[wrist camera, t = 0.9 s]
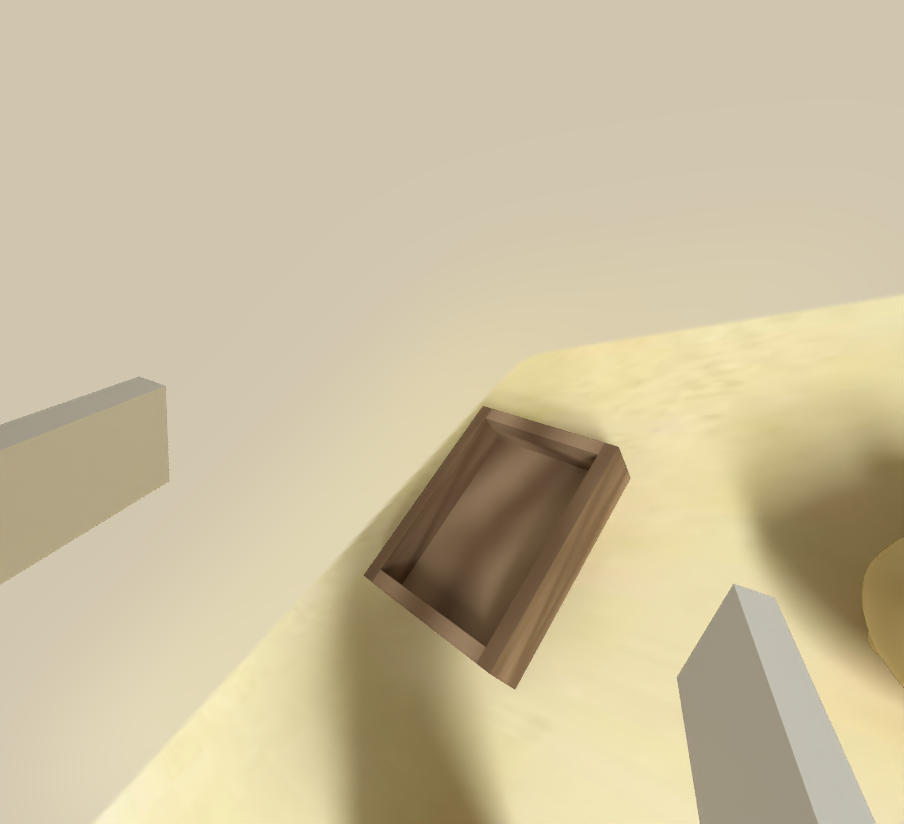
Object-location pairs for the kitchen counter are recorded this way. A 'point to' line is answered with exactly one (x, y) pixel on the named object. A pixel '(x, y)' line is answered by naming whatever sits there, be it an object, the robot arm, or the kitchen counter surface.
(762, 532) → the kitchen counter surface
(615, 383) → the kitchen counter surface
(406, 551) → the tray
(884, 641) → the round plush toy
